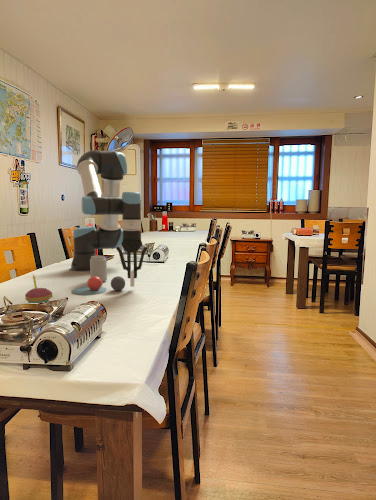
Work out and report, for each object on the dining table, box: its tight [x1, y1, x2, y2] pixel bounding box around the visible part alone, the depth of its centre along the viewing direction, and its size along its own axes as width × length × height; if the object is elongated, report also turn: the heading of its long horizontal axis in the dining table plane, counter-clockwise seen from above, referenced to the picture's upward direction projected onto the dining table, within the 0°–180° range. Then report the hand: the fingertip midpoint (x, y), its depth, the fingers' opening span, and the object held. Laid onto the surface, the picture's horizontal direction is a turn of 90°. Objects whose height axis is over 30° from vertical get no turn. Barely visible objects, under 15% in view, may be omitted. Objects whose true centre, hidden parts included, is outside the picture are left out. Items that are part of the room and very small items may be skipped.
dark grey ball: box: [110, 276, 126, 292], centre depth 139 cm, size 6×6×6 cm
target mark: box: [71, 285, 107, 296], centre depth 138 cm, size 14×14×1 cm
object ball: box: [86, 276, 103, 291], centre depth 138 cm, size 6×6×6 cm
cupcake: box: [24, 273, 53, 304], centre depth 114 cm, size 9×8×12 cm
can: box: [89, 254, 108, 283], centre depth 154 cm, size 8×8×12 cm
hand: (132, 285), depth 140 cm, fingers closed
